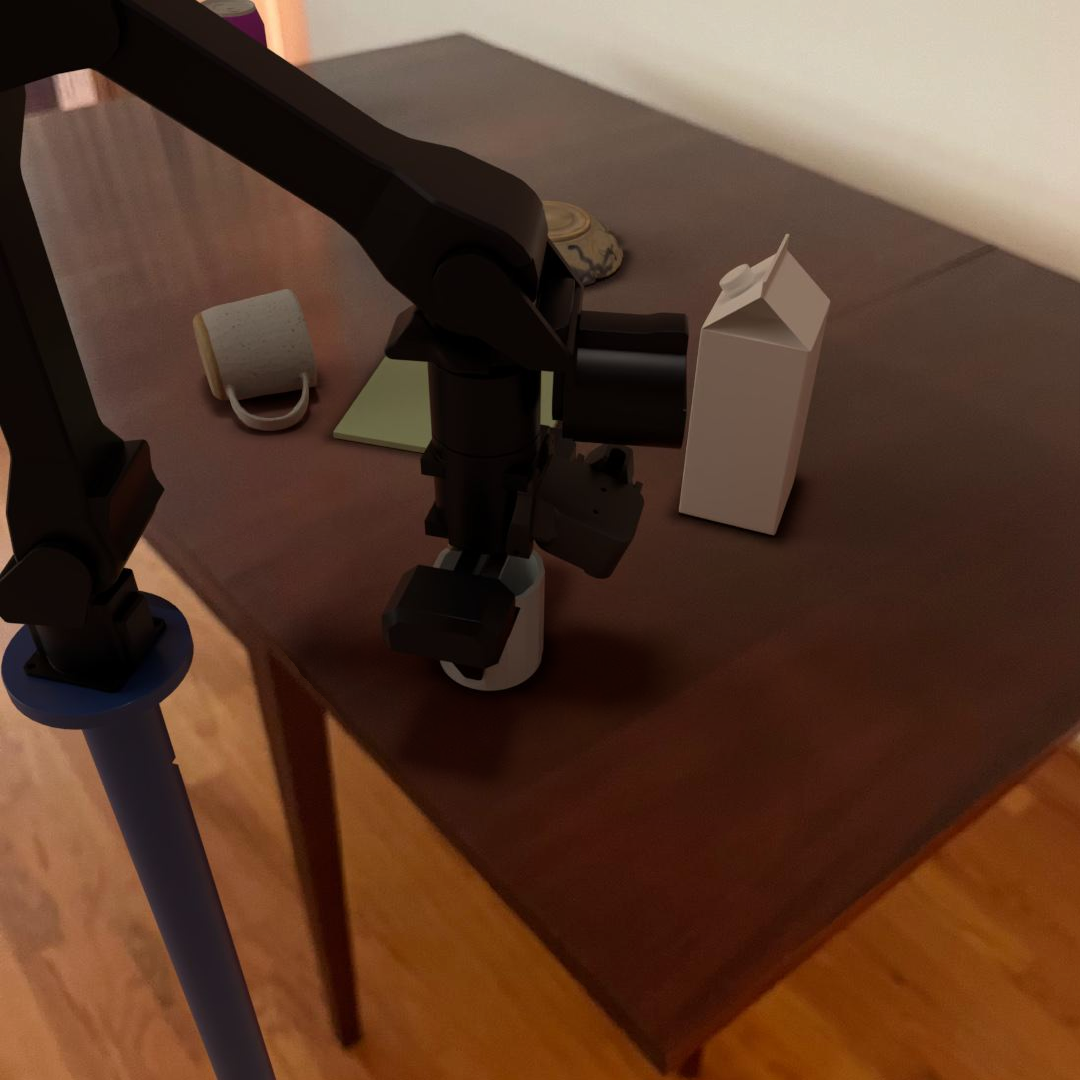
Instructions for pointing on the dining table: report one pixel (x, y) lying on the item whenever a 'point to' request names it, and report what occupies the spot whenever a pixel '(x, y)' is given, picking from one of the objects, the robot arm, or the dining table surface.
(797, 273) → the milk carton
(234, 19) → the beverage can
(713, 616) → the dining table surface
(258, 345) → the ceramic mug
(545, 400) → the mat
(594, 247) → the decorative bowl
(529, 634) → the container
